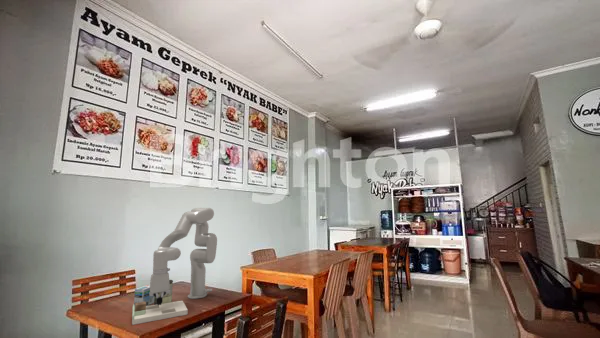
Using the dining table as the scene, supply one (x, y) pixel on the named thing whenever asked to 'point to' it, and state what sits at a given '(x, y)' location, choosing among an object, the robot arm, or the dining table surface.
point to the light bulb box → (143, 295)
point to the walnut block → (140, 306)
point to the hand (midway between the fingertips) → (159, 304)
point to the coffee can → (166, 295)
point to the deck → (159, 312)
